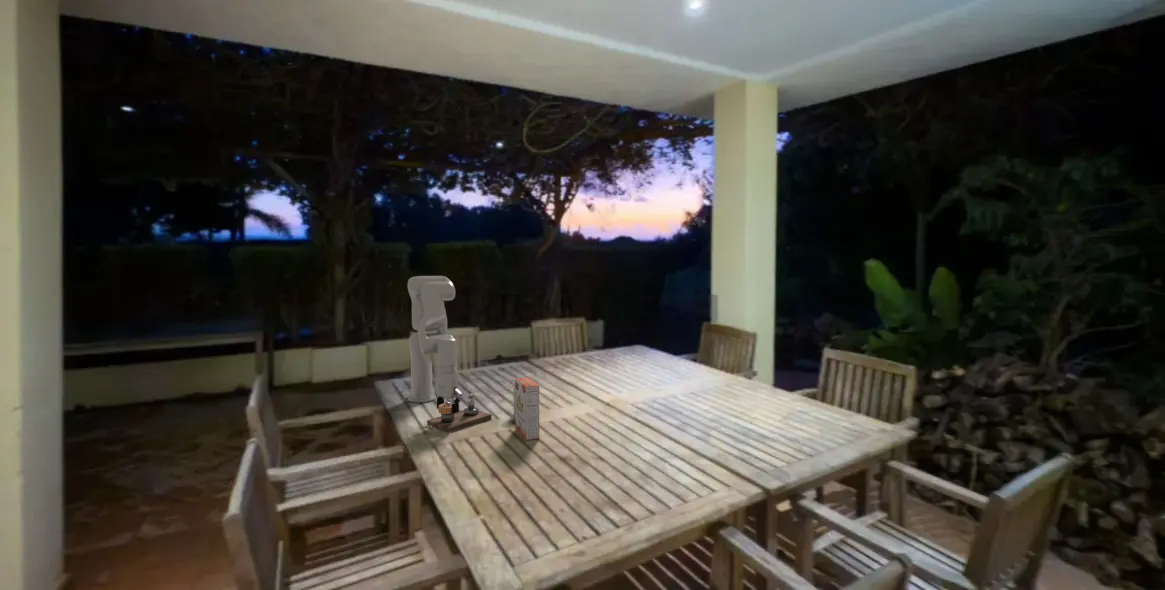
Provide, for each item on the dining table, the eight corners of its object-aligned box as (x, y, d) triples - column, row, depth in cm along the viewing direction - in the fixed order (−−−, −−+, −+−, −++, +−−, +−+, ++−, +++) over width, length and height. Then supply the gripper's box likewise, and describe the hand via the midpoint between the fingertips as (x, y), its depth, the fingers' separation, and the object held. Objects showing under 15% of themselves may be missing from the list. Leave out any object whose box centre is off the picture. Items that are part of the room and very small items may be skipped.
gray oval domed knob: (438, 421, 213) (438, 402, 213) (449, 417, 217) (449, 399, 217) (446, 423, 210) (446, 405, 209) (457, 420, 214) (456, 402, 213)
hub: (461, 414, 222) (460, 394, 222) (472, 410, 227) (472, 391, 226) (470, 417, 219) (470, 397, 218) (481, 413, 223) (481, 394, 223)
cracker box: (514, 429, 210) (514, 377, 209) (528, 427, 213) (528, 376, 211) (524, 441, 198) (524, 386, 196) (539, 439, 200) (540, 385, 198)
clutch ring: (434, 411, 213) (434, 405, 213) (449, 407, 218) (449, 401, 218) (445, 415, 208) (445, 409, 208) (460, 410, 214) (460, 405, 214)
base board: (427, 425, 214) (427, 420, 214) (470, 412, 231) (470, 407, 231) (448, 432, 206) (448, 427, 205) (491, 419, 223) (491, 414, 222)
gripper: (426, 367, 214) (427, 408, 216) (453, 373, 203) (453, 417, 205) (441, 364, 220) (442, 404, 221) (468, 370, 209) (468, 412, 211)
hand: (447, 410), depth 213 cm, fingers open, 9 cm apart
